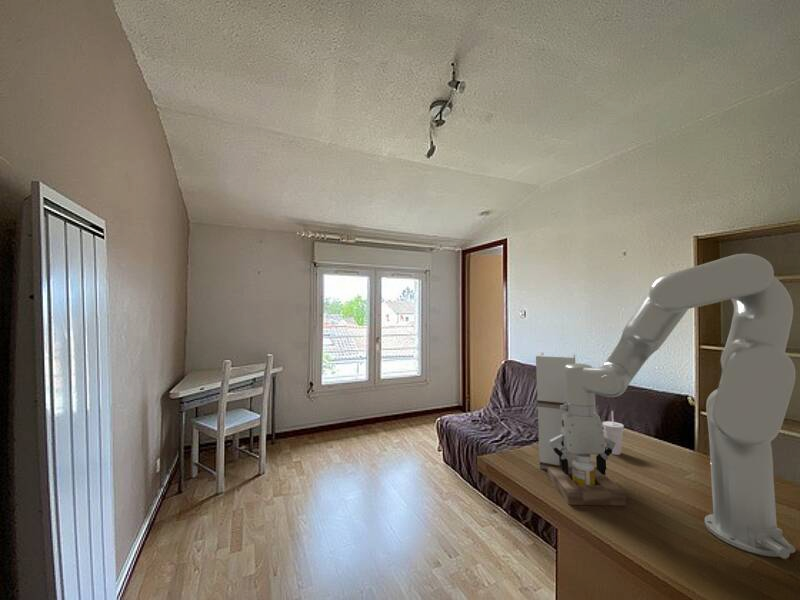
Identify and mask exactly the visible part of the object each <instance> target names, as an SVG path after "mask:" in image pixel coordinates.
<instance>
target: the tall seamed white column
mask: <svg viewBox="0 0 800 600" xmlns="http://www.w3.org/2000/svg"><path fill="white" fill-rule="evenodd" d="M573 363H576V354H575V353H574V352H573V353H571V354H570V355H569V356H553V355H552V356H551V355H550V356H549V355H544V352H541V351H540V352H538V354H537V355H535V367H536V368H535V369H536V370H535V371H536V373H535V374H536V395H537V401H536V402H537V421H538V422H537V423H538V428H537V429H538V450H539V451H538V453H539V469H541V470H544V471H545V470H546V471H547V467H560V465H559V455H557V454H556V453H555V452H554V451H553V449H552V447H551V446H550V444H549V440H551V439H553V438H554V437H556V436H558V435H560V434H561V421H562V415H563V412H565V411H564V410H561V409H560V405H564V402H565V394H564V366H565V365H567V364H573ZM556 446H557V448H558V449H560V448H561V447H562V446H561V442H559V443H558V444H556ZM566 459H567V460H568V467H572V461H573V460H575V457H574V454H571V453H570V454H569V455H568V456H567V457H566Z"/></svg>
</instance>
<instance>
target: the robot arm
mask: <svg viewBox="0 0 800 600" xmlns="http://www.w3.org/2000/svg"><path fill="white" fill-rule="evenodd" d="M730 300H731V302H732V305H733V315H732V318H731V319H732V320H731V325H730V329H729V333H728V336H727V340H726V343H725V346H724V349H723V351H722V352H721V354H720V355H721V356H720V365H721V368H722V371H721V372H722V373H721V376H720V380H719V383H718V387H717V389H714V390H713V391H712V392H711V393H710V394H709V395H708V397H707V398H706V404H705V408H706V409H705V411H706V417H707V418H706V419H707V427H708V429H707V430H708V440H709V442H708V443H709V459H710V460H709V461H710V462H709V463H710V477H711V478H710V479H711V494H712V496H711V497H712V509H713V510H712V511H713V513H710V514H707V515H706V516H705V517H704V526H705V527H706V529H707V530H708V531H709V532H710V533H711V534H712V535H713V536H715V537H717V538H718V539H720V540H721V541H723V542H724V543H727V544H728V545H731V546H732V547H735V548H738V549H740V550H743V551H746V552H749V553H752V554H756V555H760V556H766V557H776V558H777V557H780V558H782V559H783V560H784V559H785V560H786V559H788V558H789V557H790V555H791V554H793V553H795V552H796V547H795V546H794V545H792V544H790V543H789V542H788V540H787V539H786V538H785V537H784V536H783V529H781V528H780V527H778V526H777V512H776V511H777V509H776V495H775V483H774V482H775V480H774V460H773V449H772V444H771V442H772V441H773V440H774V439H775V438H777V436H778V435H779V433H780V431H781V429H782V425H783V423H784V420H785V417H786V414H787V411H788V406H789V404H790V400H791V397H792V394H793V390H794V387H795V381H796V367H795V363H794V361H793V360H792V359H791V357H790V356H789V355H788V354H787V353H786V349H787V346H788V345H787V344H788V341H789V337H790V331H791V328H792V322H793V317H794V304H793V300H792V297H791V296H790V293H789V292H788V290H787V288H786V287H785V286H784V284H783V283H782V282H781V281H780V280H779V279H778V278H777V277H775V271H774V267H773V265H772V264H771V262H770V261H769V260H767V259H766V258H764V257H763V256H761V255H757V254H753V253H736V254H732V255H729V256H725V257H722V258H718V259H716V260H712V261H709V262H705V263H702V264H699V265H695V266H692V267H688V268H684V269H682V270H678V271H674V272H671V273H668V274H664V275H662V276H660V277H658V278H657V279H656V280H654V281H653V283H652V284H651V286H650V288H649V291H648V293H647V295H646V296H645V297H644V298H643V300H642V302H641V303H640V305H639V306H638V307H637V309H636V310H635V312H634V313H633V315H632V316H631V317H630V318H629V320H628V322H627V323H626V325H625V326H624V328H623V330H622V333H621V336H620V339H619V341H618V342H617V345H616V346H615V348H614V349H613V350H612V352H611V354H610V355H609V357H608V358H607V359H606V361H605V362H604V364H603V365H602V366H600V367H592V366H591V365H589V364H586V363H576V362H575V363H573V364H567V365H565V366H564V394H565V402H564V405H560V409H561V410H564V411H565V412H563V415H562V421H561V434H560V435H558V436H556V437H554V438H553V439H551V440H549V444H550V446H551V447H552V449H553V451H554V452H555V453H556V454H557V455H559V465H560V469H561V470H562V471H563V472H564V473H565V474H568V460H567V459H566V457H567V456H568V455H569V454H570V453H571V454H590V455H596V457H595V460H596V461H595V462H596V463H595V464H596V468H597V470H598V471H599V472H600V473H601V474H603V475H605V476H606V471H607V460H608V459H609V457H610V455H612V454H611V453H612V449H613V448H614V446H615V442H614V441H612V440H610V439H608V438H606V437H605V433H604V427H603V426H602V421H601V417H600V415H599V414H597V408H596V407H597V406H596V395H598V396H599V395H600V396H603V397H608V398H615V397H619V396H621V395H623V394H624V393H625V392H626V390H627V389H628V387H629V386H630V384H631V382H632V381H633V379H634V378H635V376H636V375H637V374H638V372H640V370H641V368H642V367H643V366H644V364H645V363H646V362H647V361H648V360H649V358H650V357H651V356H652V355H653V354H654V353H655V352H657V350H659V349H660V348H661V347H662V345H663V344H664V343H665V342H666V340H667V339H668V337H669V336H670V335H671V333H672V331H673V330H674V329H675V328H676V326H677V325H678V323H680V322H681V319H682V318H683V317H684V316H685V314H686V313H687V312H688V310H690V309H695V308H700V307H704V306H708V305H712V304H716V303H721V302H724V301H730ZM559 442H561V446H562V447H561V448H560V449H558V448H557V446H556V444H558V443H559ZM605 443H607V444H605Z"/></svg>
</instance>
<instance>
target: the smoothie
mask: <svg viewBox="0 0 800 600" xmlns="http://www.w3.org/2000/svg"><path fill="white" fill-rule="evenodd" d="M610 411H611V421H610V420H609V421H607V420H606V421H602V422H601V424H602V428H603V434H604V437H606V438H608V439H610V440H612V441H614V442H615V446H614V448H613V449H612V453H611V454H610V455H615V456H620V455H621V454H622V444H623V442H622V441H623V435H624V434H623V433H624V430H625V426H624V424H622V423H621V422H620V423H619V422H616V421H615V419H614V411H613V410H610ZM605 445H607V443H606V444H605Z"/></svg>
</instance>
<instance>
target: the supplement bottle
mask: <svg viewBox="0 0 800 600" xmlns="http://www.w3.org/2000/svg"><path fill="white" fill-rule="evenodd" d="M591 455H592V454H574V457H575V460H573V461H572V476H573V482H574V483H575V484H576V485H595V473H594V467H595V465H594V464H593V462H591V461H592V456H591Z"/></svg>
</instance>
